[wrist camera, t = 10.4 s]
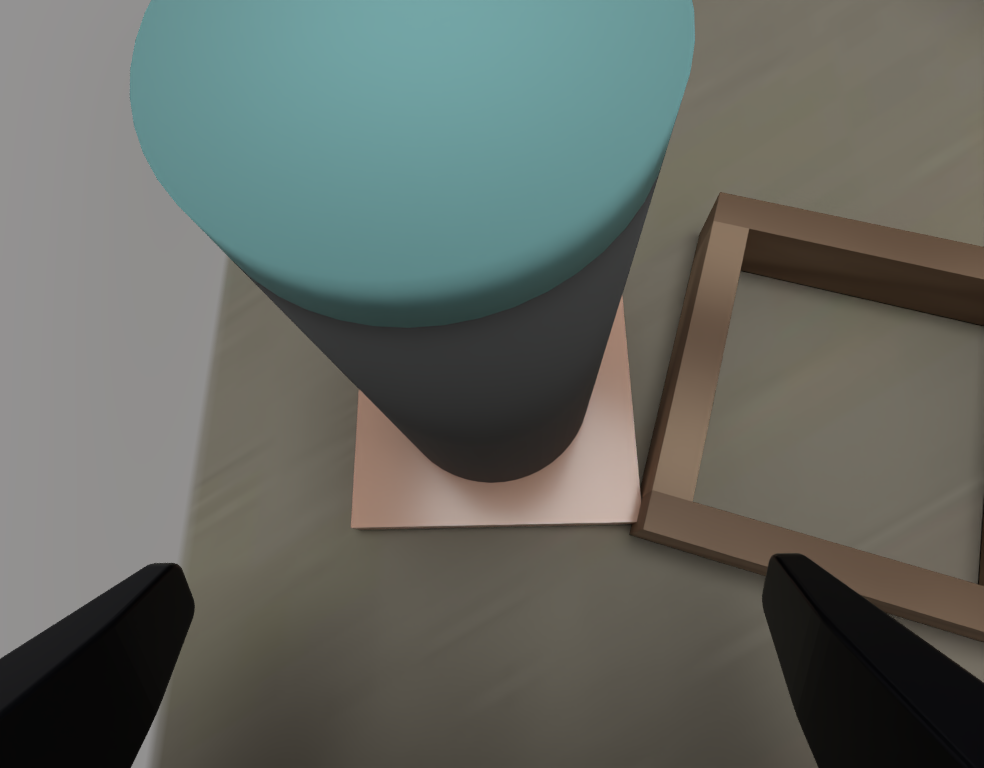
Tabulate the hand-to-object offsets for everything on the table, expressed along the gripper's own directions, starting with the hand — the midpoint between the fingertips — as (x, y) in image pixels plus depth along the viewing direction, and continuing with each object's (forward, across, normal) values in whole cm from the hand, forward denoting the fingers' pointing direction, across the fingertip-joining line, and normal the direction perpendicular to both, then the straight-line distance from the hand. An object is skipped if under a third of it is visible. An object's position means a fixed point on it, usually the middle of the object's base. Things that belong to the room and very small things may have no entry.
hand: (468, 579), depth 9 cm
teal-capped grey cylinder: (+9, 0, +1) cm, 9 cm away
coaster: (+9, 0, +2) cm, 9 cm away
